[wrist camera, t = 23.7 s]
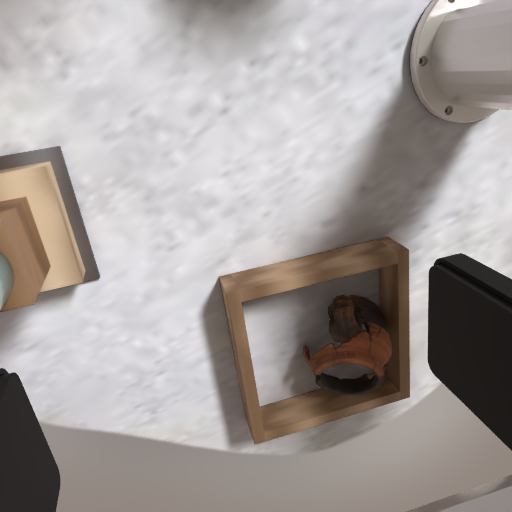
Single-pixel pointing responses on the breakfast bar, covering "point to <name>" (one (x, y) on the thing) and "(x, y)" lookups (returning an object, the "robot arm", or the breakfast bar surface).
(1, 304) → the teal capsule
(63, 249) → the plinth
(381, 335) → the pottery mug
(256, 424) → the mug tray
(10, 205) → the walnut block
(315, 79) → the breakfast bar surface
